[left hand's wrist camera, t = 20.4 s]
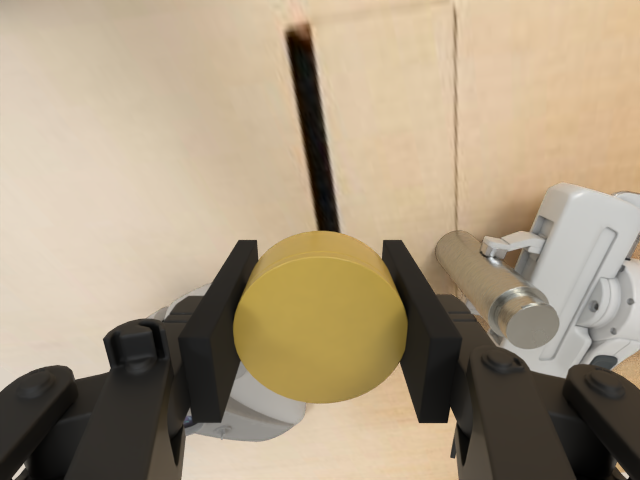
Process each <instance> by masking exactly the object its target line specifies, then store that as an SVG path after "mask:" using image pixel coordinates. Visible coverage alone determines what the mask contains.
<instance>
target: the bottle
mask: <svg viewBox="0 0 640 480" xmlns="http://www.w3.org/2000/svg"><path fill="white" fill-rule="evenodd" d="M481 244H482V243H481V242H479V241H478V240H477V239H476V238H475V237H473V236H472V235H471V234H469V233H467V232H465V231H453V232H450V233H448V234H446V235H445V236H443V237H442V238H441V239H440V241H439V242H438V244H437V246H436V258H437V260H438V262H439V263H440V264H441V266H442V267H443V268H444V269H445V271H446V272H447V273H448V274H449V276H450V277H451V278H452V280H453V281H454V282H455V283H456V285H457V286H458V287H459V288H460V290H461V291H462V292H463V294H464V295H465V296H466V297H467V299H468V300H469V301H470V302H471V304H472V305H473V306H474V307H475V309H476V310H477V311H478V313H479V314H480V315H481V316H482V318H483V319H484V320H485V321H486V323H487V324H488V325H489V327H490V328H491V329H492V330H493V331H494V332H495V333H496V334H498V335H499V336H502V337H505V338H507V339H508V341H509V342H510V343H511V344H512V345H514V346H515V347H518V348H521V349H535V348H538V347H541V346H543V345H545V344H547V343H548V342H549V341H551V340H552V339H553V338H554V336H555V335H556V333H557V332H558V329H559V325H560V321H559V317H558V315H557V312H556V311H555V309H554V308H553V307H552V306H551V305H549V302H548V299H547V297H546V296H545V294H544V293H543V292H541V291H540V290H539V289H538V288H536V287H535V286H534V285H533V284H531V283H530V282H529V281H528V280H527V279H525V278H524V277H523V276H522V275H520V274H519V273H518V272H517V271H515V270H514V269H513V268H512V267H510V266H509V265H508V264H507V263H505V262H504V261H503V260H502V259H499V258H496V257H488V256H486V255H484V254H483V253H482V252H480V251H479V249H480V247H481Z"/></svg>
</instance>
